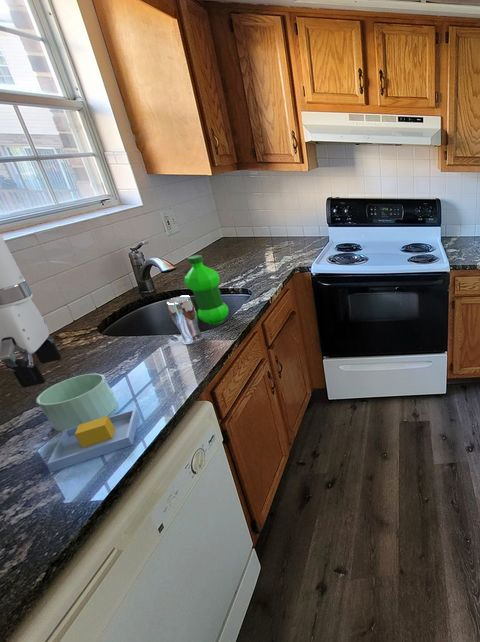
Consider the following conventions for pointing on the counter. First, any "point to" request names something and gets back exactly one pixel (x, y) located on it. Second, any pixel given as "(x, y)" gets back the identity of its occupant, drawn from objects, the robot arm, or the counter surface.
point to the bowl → (77, 401)
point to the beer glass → (185, 318)
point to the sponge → (95, 431)
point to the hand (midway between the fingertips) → (43, 372)
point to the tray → (74, 453)
